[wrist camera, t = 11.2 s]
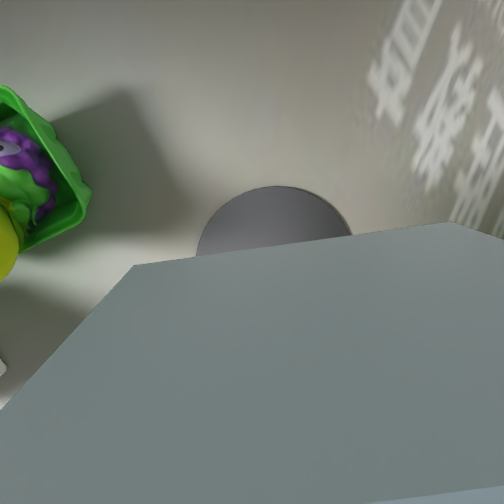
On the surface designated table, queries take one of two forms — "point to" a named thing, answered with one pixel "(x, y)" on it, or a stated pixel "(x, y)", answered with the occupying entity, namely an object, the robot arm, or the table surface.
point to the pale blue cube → (277, 380)
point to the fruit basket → (34, 182)
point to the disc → (269, 221)
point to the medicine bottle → (2, 367)
